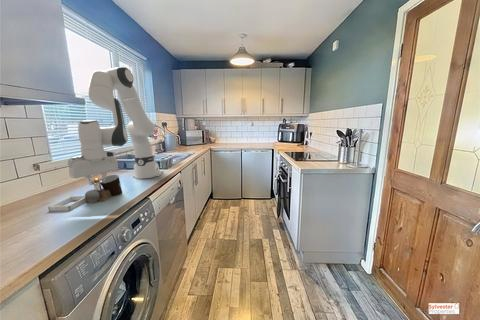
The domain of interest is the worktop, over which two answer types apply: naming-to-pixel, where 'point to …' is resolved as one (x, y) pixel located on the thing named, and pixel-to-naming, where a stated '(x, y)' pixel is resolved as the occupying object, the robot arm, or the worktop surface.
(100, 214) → the worktop surface
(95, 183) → the lock pin
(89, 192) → the tensioner block
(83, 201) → the parts tray
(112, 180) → the coffee mug
